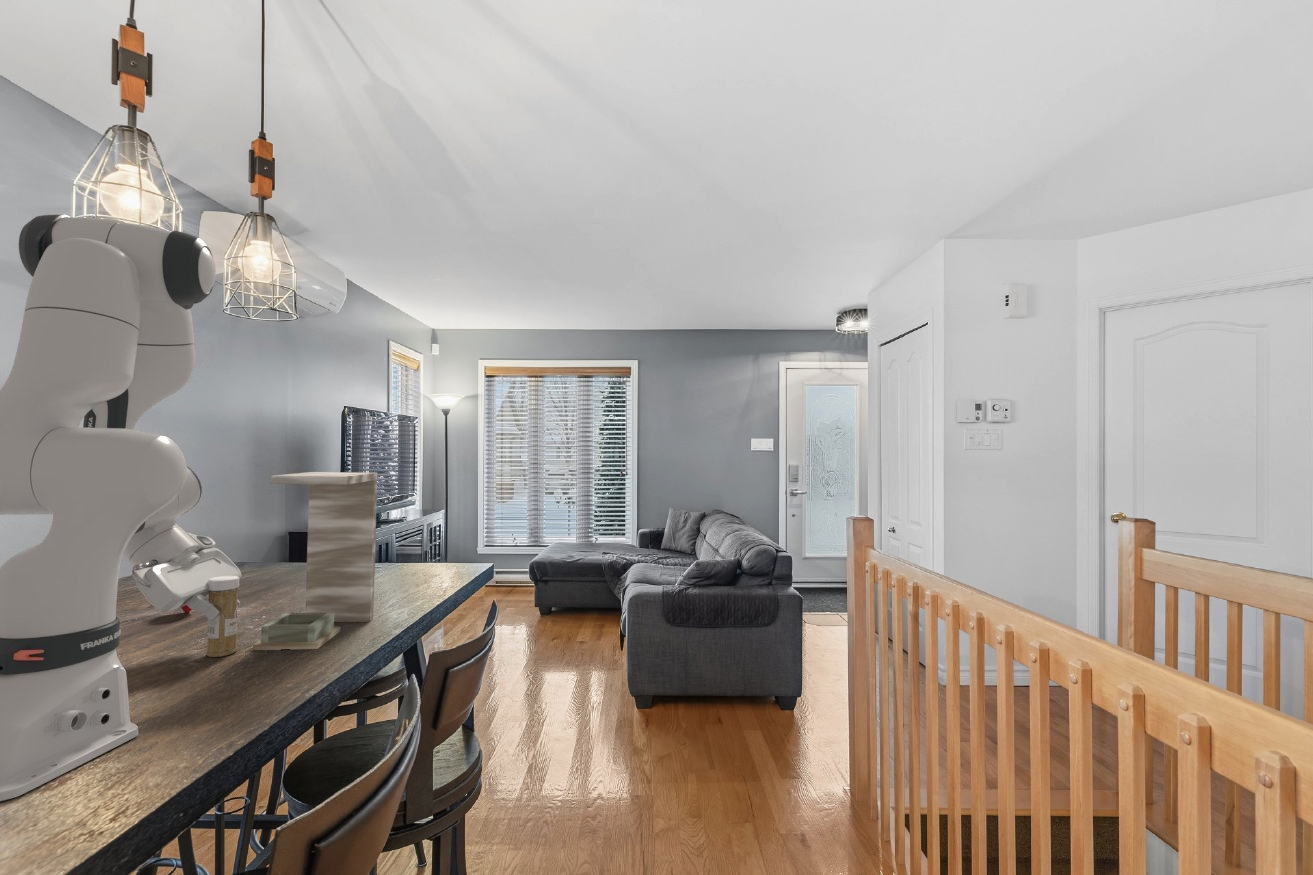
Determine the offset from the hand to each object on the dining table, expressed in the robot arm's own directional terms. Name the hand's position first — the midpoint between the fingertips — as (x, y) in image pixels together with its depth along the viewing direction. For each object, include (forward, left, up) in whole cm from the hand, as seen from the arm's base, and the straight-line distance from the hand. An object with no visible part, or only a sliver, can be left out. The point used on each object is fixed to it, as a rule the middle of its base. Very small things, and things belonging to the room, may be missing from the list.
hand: (226, 611), depth 110 cm
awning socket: (+12, -11, -7) cm, 18 cm away
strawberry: (+29, +23, -8) cm, 38 cm away
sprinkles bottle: (0, +1, -8) cm, 8 cm away
